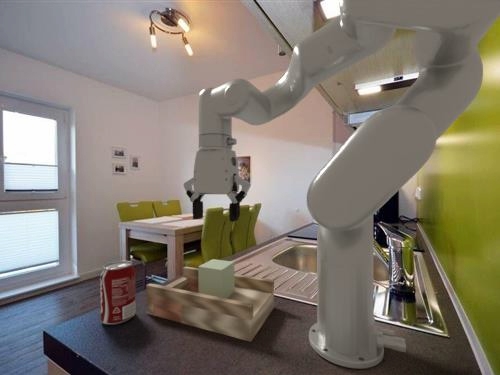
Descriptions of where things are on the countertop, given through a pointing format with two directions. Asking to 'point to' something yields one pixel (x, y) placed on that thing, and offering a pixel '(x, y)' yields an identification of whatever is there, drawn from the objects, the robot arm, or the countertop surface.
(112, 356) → the countertop surface
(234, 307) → the channel track
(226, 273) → the sage block
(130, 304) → the soda can
